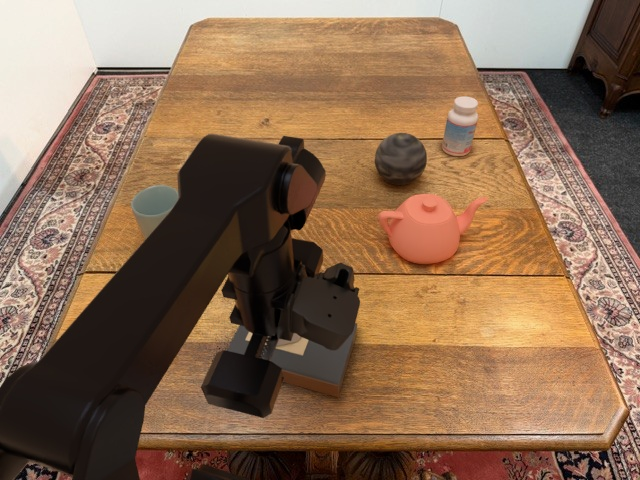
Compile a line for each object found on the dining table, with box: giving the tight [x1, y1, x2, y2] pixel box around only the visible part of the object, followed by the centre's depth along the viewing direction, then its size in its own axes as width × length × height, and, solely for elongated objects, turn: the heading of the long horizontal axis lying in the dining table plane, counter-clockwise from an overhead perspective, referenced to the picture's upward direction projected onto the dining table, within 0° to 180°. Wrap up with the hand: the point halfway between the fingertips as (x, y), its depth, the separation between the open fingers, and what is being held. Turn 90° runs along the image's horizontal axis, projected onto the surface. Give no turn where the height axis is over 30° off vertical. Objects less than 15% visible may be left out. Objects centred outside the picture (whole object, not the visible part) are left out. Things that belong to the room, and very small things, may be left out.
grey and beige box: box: [226, 322, 358, 398], centre depth 67 cm, size 11×16×3 cm
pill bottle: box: [441, 95, 479, 157], centre depth 98 cm, size 6×6×11 cm
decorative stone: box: [374, 132, 428, 186], centre depth 91 cm, size 10×10×10 cm
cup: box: [130, 184, 178, 240], centre depth 79 cm, size 8×8×10 cm
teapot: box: [377, 193, 489, 265], centre depth 79 cm, size 12×18×10 cm
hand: (277, 358), depth 52 cm, fingers open, 9 cm apart
